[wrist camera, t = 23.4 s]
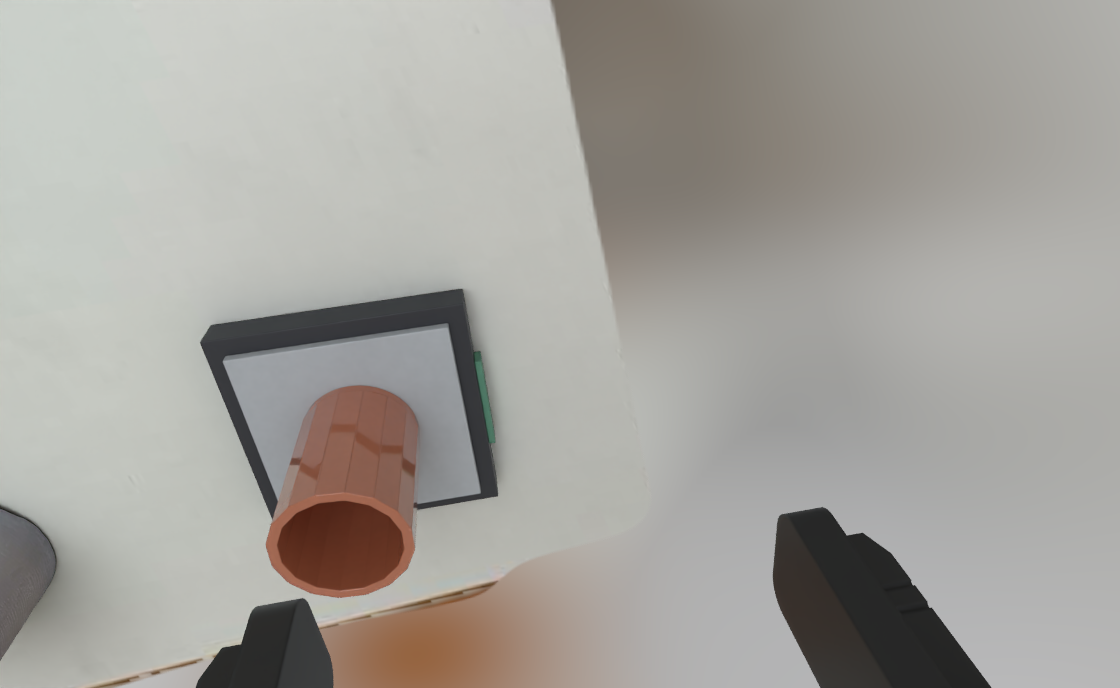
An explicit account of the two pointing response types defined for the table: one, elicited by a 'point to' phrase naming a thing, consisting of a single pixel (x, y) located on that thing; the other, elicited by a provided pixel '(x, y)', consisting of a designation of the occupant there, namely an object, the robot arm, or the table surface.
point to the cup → (349, 495)
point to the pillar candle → (21, 573)
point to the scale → (362, 359)
